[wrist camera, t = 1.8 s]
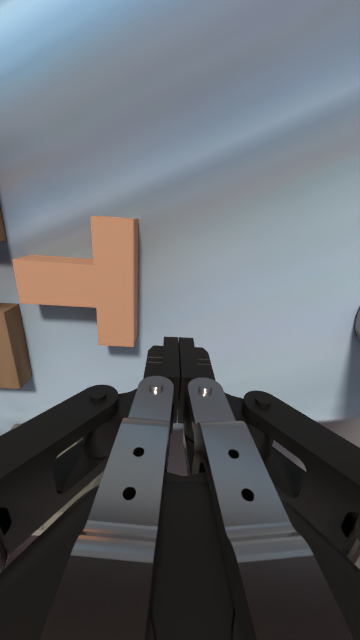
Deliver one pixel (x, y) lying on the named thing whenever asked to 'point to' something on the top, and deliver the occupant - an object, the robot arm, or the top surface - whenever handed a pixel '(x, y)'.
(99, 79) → the top surface
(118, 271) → the t block
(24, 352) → the slot nest
